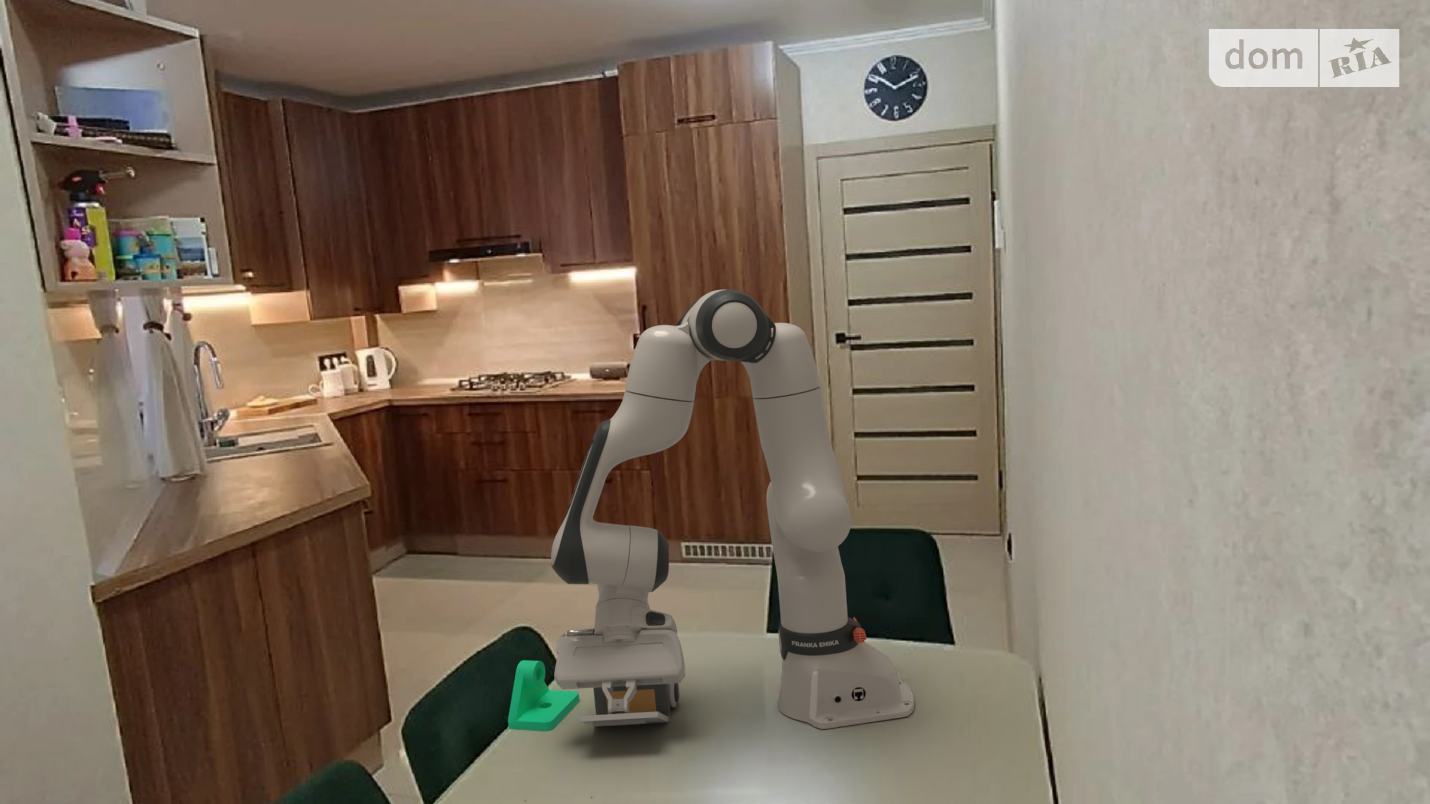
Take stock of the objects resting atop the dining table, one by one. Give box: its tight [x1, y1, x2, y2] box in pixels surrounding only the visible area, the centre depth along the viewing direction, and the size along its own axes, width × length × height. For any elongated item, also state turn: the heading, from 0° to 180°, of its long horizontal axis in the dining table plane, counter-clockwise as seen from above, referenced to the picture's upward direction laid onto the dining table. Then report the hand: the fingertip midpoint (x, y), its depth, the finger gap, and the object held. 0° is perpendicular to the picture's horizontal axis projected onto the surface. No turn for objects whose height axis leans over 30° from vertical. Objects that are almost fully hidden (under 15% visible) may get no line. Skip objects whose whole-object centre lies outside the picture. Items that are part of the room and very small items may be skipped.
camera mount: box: [507, 659, 580, 732], centre depth 156 cm, size 12×8×10 cm, turn 164°
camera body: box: [593, 683, 680, 717], centre depth 155 cm, size 13×8×7 cm, turn 88°
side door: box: [578, 712, 671, 728], centre depth 145 cm, size 12×2×13 cm
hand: (618, 712), depth 139 cm, fingers closed, pressing on side door
